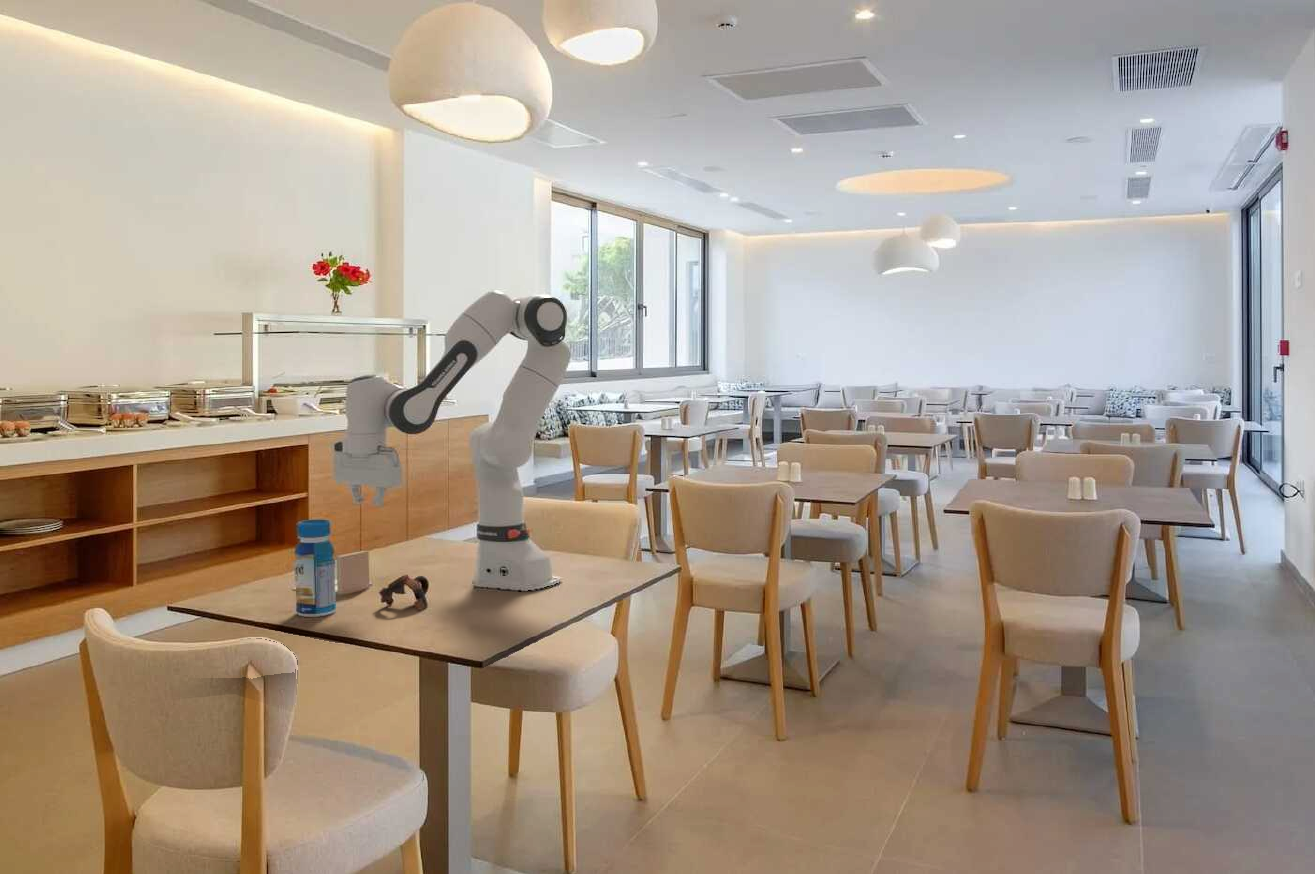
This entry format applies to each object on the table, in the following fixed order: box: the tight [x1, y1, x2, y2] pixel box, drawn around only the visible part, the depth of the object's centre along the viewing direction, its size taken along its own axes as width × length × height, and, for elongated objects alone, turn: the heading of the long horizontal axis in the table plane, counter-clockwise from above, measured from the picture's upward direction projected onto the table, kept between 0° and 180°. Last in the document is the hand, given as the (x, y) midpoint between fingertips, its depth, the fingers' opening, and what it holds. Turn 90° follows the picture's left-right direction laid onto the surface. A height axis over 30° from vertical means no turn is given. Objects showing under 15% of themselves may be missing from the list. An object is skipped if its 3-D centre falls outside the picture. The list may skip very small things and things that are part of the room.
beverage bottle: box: [293, 519, 337, 618], centre depth 213 cm, size 8×8×20 cm
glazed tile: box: [336, 550, 370, 596], centre depth 234 cm, size 2×8×9 cm, turn 146°
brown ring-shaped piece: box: [378, 574, 430, 612], centre depth 220 cm, size 12×10×8 cm
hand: (368, 504), depth 230 cm, fingers open, 5 cm apart
